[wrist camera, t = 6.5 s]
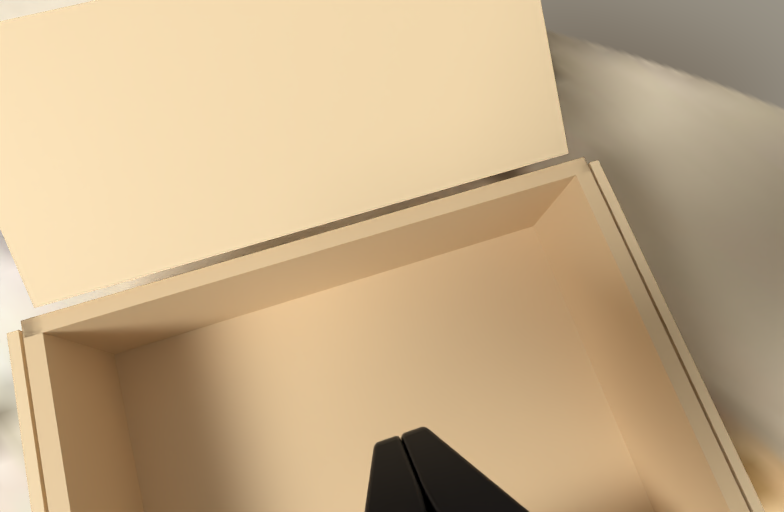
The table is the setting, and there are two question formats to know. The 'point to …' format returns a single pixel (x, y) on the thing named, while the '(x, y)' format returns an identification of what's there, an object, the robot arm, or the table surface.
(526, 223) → the carton
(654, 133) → the table surface
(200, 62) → the flap
